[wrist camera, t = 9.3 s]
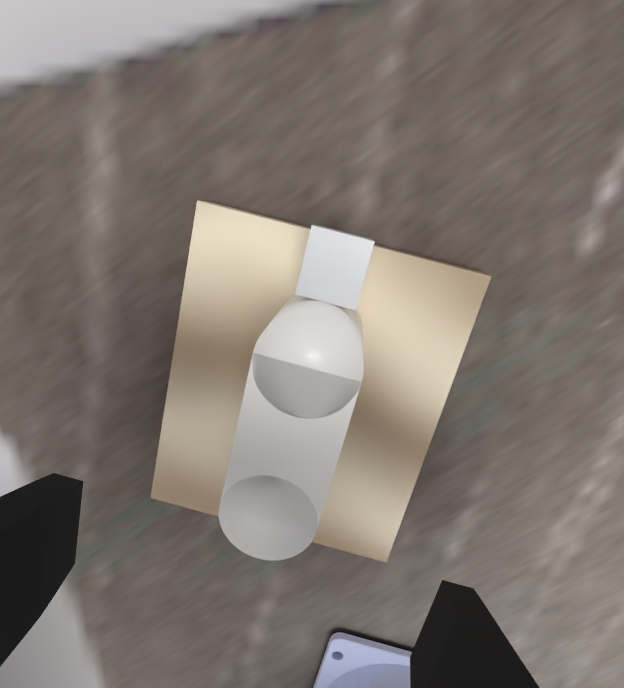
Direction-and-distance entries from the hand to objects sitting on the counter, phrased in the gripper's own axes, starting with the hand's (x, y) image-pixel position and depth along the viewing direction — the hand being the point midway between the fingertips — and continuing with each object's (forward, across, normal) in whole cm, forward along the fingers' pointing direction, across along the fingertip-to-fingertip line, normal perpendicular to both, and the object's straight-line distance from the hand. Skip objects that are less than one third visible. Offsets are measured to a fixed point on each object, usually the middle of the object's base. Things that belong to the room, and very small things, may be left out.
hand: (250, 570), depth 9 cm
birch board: (+9, 0, 0) cm, 9 cm away
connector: (+8, 0, 0) cm, 8 cm away
